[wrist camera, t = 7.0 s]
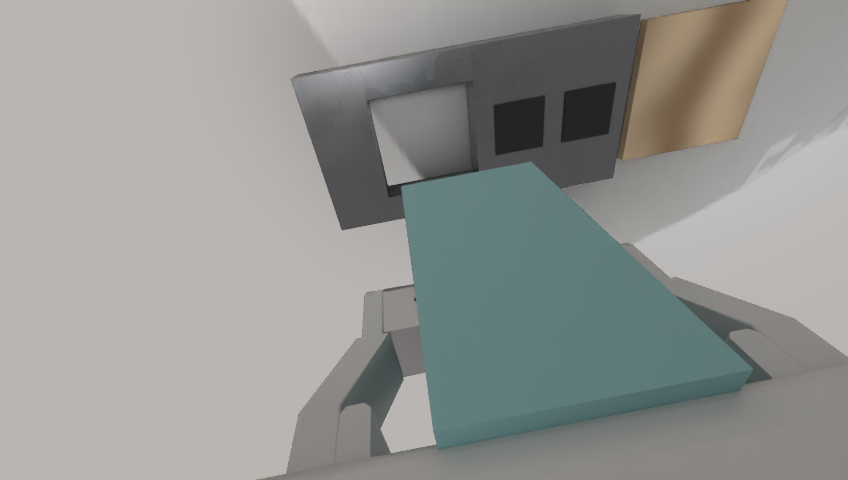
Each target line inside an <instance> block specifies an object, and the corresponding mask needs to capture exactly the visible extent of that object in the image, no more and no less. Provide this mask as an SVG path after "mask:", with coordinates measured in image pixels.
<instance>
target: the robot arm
mask: <svg viewBox="0 0 848 480" xmlns="http://www.w3.org/2000/svg"><path fill="white" fill-rule="evenodd" d="M620 245H621V246H622V247H623V248H624V249H625V250H626V251H628V252H629V253H630V254H631V255H632V256H633V257H634V258H635V259H636V260H637V261H638V262H639V263H640V264H641V265H643V266H644V267H645V268H646V269H647V270H648V271H649V272H650V273H651V274H652V275H653V276H654V277H655V278H656V279H658V280H659V281H660V282H661V283H662V284H663V285H664V286H665V287H666V288H667V289H668V290H669V291H670V292H671V293H673V294H674V295H675V296H676V297H677V298H678V299H679V300H680V301H681V302H682V303H683V304H684V305H685V306H686V307H688V308H689V309H690V310H691V311H692V312H693V313H694V314H695V315H696V316H697V317H698V318H699V319H700V320H701V321H702V322H704V323H705V324H706V325H707V326H708V327H709V328H710V329H711V330H712V331H713V332H714V333H715V334H716V335H717V336H719V337H720V338H721V339H722V340H723V341H724V342H725V343H726V344H727V345H728V346H729V347H730V348H731V349H732V350H734V351H735V352H736V353H737V354H738V355H739V356H740V357H741V358H742V359H743V360H744V361H745V362H746V363H747V364H749V365H750V366H751V367H752V368H753V369H754V370H753V371H752V373H751V374H750V376H749V377H748V379H747V380H746V382H745V384H744V385H743V387H742V388H741V390H739V391H734V392H728V393H723V394H718V395H713V396H708V397H703V398H698V399H693V400H688V401H682V402H677V403H672V404H667V405H662V406H657V407H652V408H647V409H641V410H636V411H631V412H626V413H621V414H616V415H611V416H606V417H600V418H595V419H590V420H585V421H580V422H575V423H570V424H565V425H560V426H554V427H549V428H544V429H539V430H534V431H529V432H524V433H519V434H514V435H509V436H503V437H498V438H493V439H488V440H483V441H478V442H473V443H468V444H463V445H458V446H452V447H447V448H442V449H438V447H437V445H432V446H427V447H422V448H416V449H411V450H406V451H401V452H396V453H390V450H389V448H388V446H387V443H386V441H385V439H384V436H383V434H382V432H381V430H380V428H381V426H382V424H383V422H384V420H385V418H386V415H387V413H388V411H389V409H390V407H391V405H392V403H393V401H394V399H395V396H396V394H397V392H398V390H399V388H400V386H401V384H402V381H403V377H406V376H411V375H416V374H420V373H424V372H426V371H425V364H424V356H423V349H422V341H421V333H420V326H419V318H418V311H417V303H416V296H415V288H414V284H413V285H407V286H401V287H395V288H389V289H384V290H379V291H373V292H367V293H366V294H365V296H364V311H363V329H362V338H357V339H356V340H355V341H354V343H353V344H352V345H351V347H350V348H349V349H348V350H347V352H346V353H345V354H344V356H343V357H342V358H341V360H340V361H339V362H338V363H337V365H336V366H335V367H334V369H333V370H332V371H331V372H330V374H329V376H327V378H326V379H325V380H324V382H323V383H322V384H321V385H320V387H319V388H318V389H317V391H316V392H315V393H314V394H313V396H312V397H311V398H310V400H309V401H308V402H307V404H306V405H305V406H304V407H303V409H302V410H301V411H300V413H299V415H298V419H297V424H296V429H295V434H294V438H293V443H292V448H291V453H290V457H289V462H288V467H287V472H286V474H283V475H278V476H273V477H268V478H262V479H257V480H848V357H847V356H846V355H844V354H843V353H841V352H840V351H839V350H837V349H836V348H834V347H833V346H832V345H830V344H829V343H828V342H826V341H825V340H823V339H822V338H821V337H819V336H818V335H816V334H815V333H814V332H812V331H811V330H810V329H808V328H807V327H805V326H804V325H803V324H801V323H800V322H798V321H797V320H796V319H794V318H791V317H789V316H786V315H783V314H780V313H777V312H774V311H772V310H769V309H766V308H763V307H760V306H757V305H754V304H752V303H749V302H746V301H743V300H740V299H737V298H734V297H731V296H729V295H726V294H723V293H720V292H717V291H714V290H712V289H709V288H706V287H703V286H700V285H697V284H694V283H692V282H688V281H686V280H683V279H680V278H677V277H675V278H670V277H669V276H668V275H666V274H665V273H664V272H663V271H662V270H661V269H660V268H658V267H657V266H656V265H655V264H654V263H653V262H652V261H650V260H649V259H648V258H647V257H646V256H645V255H643V254H642V253H641V252H640V251H639V250H638V249H637V248H636V247H635V246H633V245H632V244H629V243H623V244H620Z"/></svg>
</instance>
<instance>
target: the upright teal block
mask: <svg viewBox="0 0 848 480" xmlns="http://www.w3.org/2000/svg"><path fill="white" fill-rule="evenodd" d="M401 189H402V197H403V205H404V212H405V220H406V227H407V235H408V242H409V250H410V257H411V265H412V273H413V280H414V288H415V296H416V303H417V311H418V318H419V326H420V333H421V341H422V349H423V356H424V364H425V371H426V379H427V386H428V394H429V401H430V409H431V417H432V424H433V432H434V435H435V439H436V443H437V447H438V449H442V448H447V447H452V446H458V445H463V444H468V443H473V442H478V441H483V440H488V439H493V438H498V437H503V436H509V435H514V434H519V433H524V432H529V431H534V430H539V429H544V428H549V427H554V426H560V425H565V424H570V423H575V422H580V421H585V420H590V419H595V418H600V417H606V416H611V415H616V414H621V413H626V412H631V411H636V410H641V409H647V408H652V407H657V406H662V405H667V404H672V403H677V402H682V401H688V400H693V399H698V398H703V397H708V396H713V395H718V394H723V393H728V392H734V391H739V390H741V388H742V387H743V385H744V384H745V382H746V380H747V379H748V377H749V376H750V374H751V373H752V371H753V370H754V369H753V368H752V367H751V366H750V365H749V364H747V363H746V362H745V361H744V360H743V359H742V358H741V357H740V356H739V355H738V354H737V353H736V352H735V351H734V350H732V349H731V348H730V347H729V346H728V345H727V344H726V343H725V342H724V341H723V340H722V339H721V338H720V337H719V336H717V335H716V334H715V333H714V332H713V331H712V330H711V329H710V328H709V327H708V326H707V325H706V324H705V323H704V322H702V321H701V320H700V319H699V318H698V317H697V316H696V315H695V314H694V313H693V312H692V311H691V310H690V309H689V308H688V307H686V306H685V305H684V304H683V303H682V302H681V301H680V300H679V299H678V298H677V297H676V296H675V295H674V294H673V293H671V292H670V291H669V290H668V289H667V288H666V287H665V286H664V285H663V284H662V283H661V282H660V281H659V280H658V279H656V278H655V277H654V276H653V275H652V274H651V273H650V272H649V271H648V270H647V269H646V268H645V267H644V266H643V265H641V264H640V263H639V262H638V261H637V260H636V259H635V258H634V257H633V256H632V255H631V254H630V253H629V252H628V251H626V250H625V249H624V248H623V247H622V246H621V245H620V244H619V243H618V242H617V241H616V240H615V239H614V238H613V237H611V236H610V235H609V234H608V233H607V232H606V231H605V230H604V229H603V228H602V227H601V226H600V225H599V224H598V223H596V222H595V221H594V220H593V219H592V218H591V217H590V216H589V215H588V214H587V213H586V212H585V211H584V210H583V209H581V208H580V207H579V206H578V205H577V204H576V203H575V202H574V201H573V200H572V199H571V198H570V197H569V196H568V195H566V194H565V193H564V192H563V191H562V190H561V189H560V188H559V187H558V186H557V185H556V184H555V183H554V182H553V181H552V180H550V179H549V178H548V177H547V176H546V175H545V174H544V173H543V172H542V171H541V170H540V169H539V168H538V167H537V166H535V165H534V164H533V163H532V162H526V163H521V164H516V165H510V166H505V167H500V168H494V169H489V170H484V171H478V172H473V173H468V174H463V175H457V176H452V177H447V178H441V179H436V180H431V181H425V182H420V183H415V184H409V185H404V186H401Z"/></svg>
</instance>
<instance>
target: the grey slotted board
mask: <svg viewBox="0 0 848 480" xmlns="http://www.w3.org/2000/svg"><path fill="white" fill-rule="evenodd" d="M640 16H641V14H632V15H616V16H611V17H605V18H600V19H595V20H589V21H584V22H579V23H573V24H568V25H562V26H557V27H552V28H546V29H541V30H535V31H530V32H525V33H519V34H514V35H508V36H503V37H498V38H492V39H487V40H481V41H476V42H471V43H465V44H460V45H454V46H449V47H444V48H438V49H433V50H428V51H422V52H417V53H411V54H406V55H401V56H395V57H390V58H384V59H379V60H374V61H368V62H363V63H357V64H352V65H347V66H341V67H336V68H330V69H325V70H320V71H314V72H309V73H304V74H298V75H296V76H295V77H293V78H292V79H291V82H292V85H293V87H294V90H295V93H296V96H297V99H298V102H299V105H300V108H301V111H302V114H303V117H304V120H305V123H306V126H307V129H308V132H309V135H310V138H311V140H312V144H313V146H314V149H315V152H316V155H317V158H318V161H319V164H320V167H321V170H322V173H323V176H324V179H325V182H326V184H327V188H328V190H329V194H330V197H331V199H332V202H333V205H334V208H335V211H336V214H337V217H338V220H339V223H340V226H341V229H342V230H345V229H351V228H356V227H361V226H366V225H371V224H377V223H382V222H387V221H392V220H397V219H402V218H405V212H404V205H403V197H402V189H401V186H404V185H409V184H415V183H420V182H425V181H431V180H436V179H441V178H447V177H452V176H457V175H463V174H468V173H473V172H478V171H484V170H489V169H494V168H500V167H505V166H510V165H516V164H521V163H526V162H532V163H533V164H534V165H535V166H537V167H538V168H539V169H540V170H541V171H542V172H543V173H544V174H545V175H546V176H547V177H548V178H549V179H550V180H552V181H553V182H554V183H555V184H556V185H557V186H558V187H559V188H562V187H568V186H573V185H578V184H583V183H588V182H593V181H599V180H604V179H609V178H613V174H614V168H615V162H616V156H617V150H618V145H619V139H620V133H621V127H622V121H623V115H624V109H625V104H626V98H627V92H628V86H629V80H630V74H631V68H632V62H633V57H634V51H635V45H636V39H637V33H638V27H639V21H640ZM463 82H466V90H467V103H468V116H469V129H470V142H471V155H472V168H473V170H470V171H464V172H459V173H454V174H449V175H443V176H438V177H433V178H428V179H423V180H417V181H412V182H407V183H402V184H397V185H391V186H388V184H387V180H386V176H385V171H384V167H383V163H382V159H381V154H380V150H379V145H378V141H377V137H376V132H375V128H374V124H373V119H372V115H371V111H370V106H369V102H368V100H372V99H377V98H383V97H388V96H393V95H399V94H404V93H409V92H415V91H420V90H425V89H431V88H436V87H441V86H447V85H452V84H457V83H463Z"/></svg>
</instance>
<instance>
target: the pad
mask: <svg viewBox="0 0 848 480" xmlns="http://www.w3.org/2000/svg"><path fill="white" fill-rule="evenodd" d="M787 2H788V0H747V1H742V2H736V3H731V4H726V5H720V6H715V7H709V8H704V9H699V10H693V11H688V12H682V13H677V14H672V15H666V16H661V17H656V18H650V19H645V20H641V25H640V31H639V37H638V43H637V49H636V54H635V60H634V66H633V72H632V78H631V83H630V89H629V95H628V101H627V106H626V112H625V118H624V124H623V130H622V135H621V141H620V147H619V153H618V159H620V160H622V161H624V160H629V159H634V158H639V157H645V156H650V155H655V154H660V153H665V152H670V151H676V150H681V149H686V148H691V147H696V146H702V145H707V144H712V143H717V142H722V141H728V140H733V139H738V136H739V133H740V130H741V128H742V125H743V122H744V119H745V117H746V114H747V111H748V108H749V106H750V103H751V100H752V98H753V95H754V92H755V89H756V87H757V84H758V81H759V78H760V76H761V73H762V70H763V67H764V65H765V62H766V59H767V56H768V54H769V51H770V48H771V46H772V43H773V40H774V37H775V35H776V32H777V29H778V26H779V24H780V21H781V18H782V15H783V13H784V10H785V7H786V4H787Z"/></svg>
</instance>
